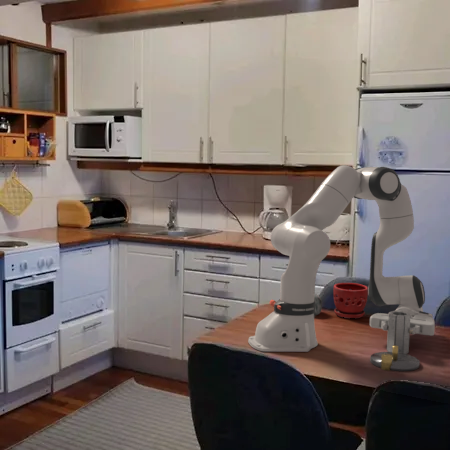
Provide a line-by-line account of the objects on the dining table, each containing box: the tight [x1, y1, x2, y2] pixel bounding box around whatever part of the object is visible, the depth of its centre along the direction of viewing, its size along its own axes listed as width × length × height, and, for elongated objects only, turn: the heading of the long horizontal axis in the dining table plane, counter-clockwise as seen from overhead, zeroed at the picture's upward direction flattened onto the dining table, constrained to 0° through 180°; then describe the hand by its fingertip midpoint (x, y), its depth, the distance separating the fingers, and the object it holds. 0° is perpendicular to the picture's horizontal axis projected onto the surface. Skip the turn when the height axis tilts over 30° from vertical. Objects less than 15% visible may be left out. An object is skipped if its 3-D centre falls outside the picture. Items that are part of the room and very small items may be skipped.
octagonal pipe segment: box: [386, 310, 411, 355], centre depth 187 cm, size 6×6×12 cm
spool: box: [314, 293, 323, 316], centre depth 235 cm, size 14×10×10 cm
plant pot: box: [332, 282, 369, 319], centre depth 231 cm, size 13×13×12 cm
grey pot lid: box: [369, 345, 420, 372], centre depth 176 cm, size 14×14×5 cm
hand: (398, 329), depth 186 cm, fingers closed on octagonal pipe segment, 7 cm apart
